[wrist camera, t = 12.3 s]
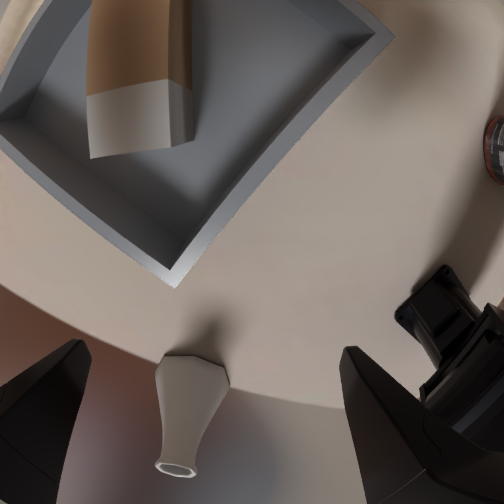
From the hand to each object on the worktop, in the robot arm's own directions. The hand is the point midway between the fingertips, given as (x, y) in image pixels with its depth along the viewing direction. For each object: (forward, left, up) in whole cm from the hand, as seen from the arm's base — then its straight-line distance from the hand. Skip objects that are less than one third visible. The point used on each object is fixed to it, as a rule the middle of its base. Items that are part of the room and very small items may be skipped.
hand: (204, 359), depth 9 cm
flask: (-6, +14, -11) cm, 19 cm away
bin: (+10, -6, -11) cm, 16 cm away
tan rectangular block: (+10, -6, -10) cm, 16 cm away
